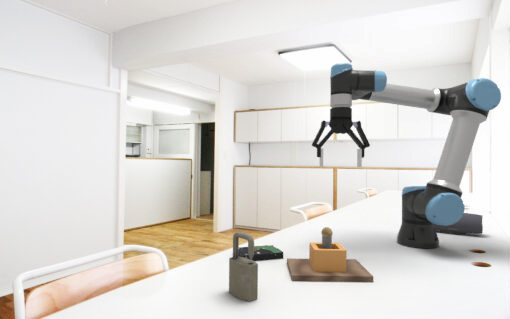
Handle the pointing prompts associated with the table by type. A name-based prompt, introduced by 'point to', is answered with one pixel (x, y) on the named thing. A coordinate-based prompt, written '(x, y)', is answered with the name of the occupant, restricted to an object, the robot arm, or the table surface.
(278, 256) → the disk drive
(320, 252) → the hollow square frame
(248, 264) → the padlock
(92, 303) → the table surface
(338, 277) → the wooden peg board
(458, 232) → the bluetooth speaker
